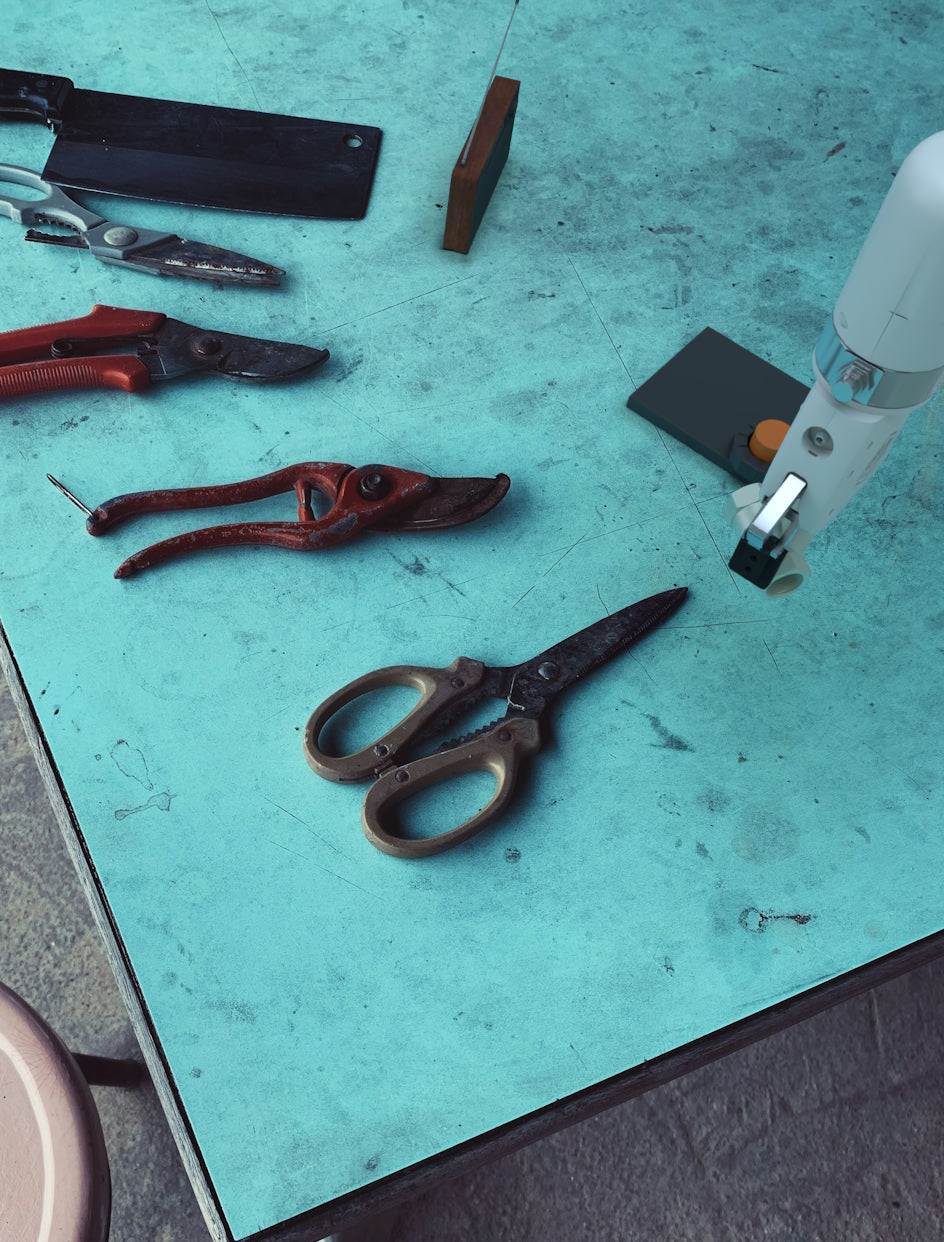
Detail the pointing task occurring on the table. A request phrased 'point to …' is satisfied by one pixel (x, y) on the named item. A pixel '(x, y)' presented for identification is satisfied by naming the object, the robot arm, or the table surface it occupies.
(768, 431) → the button
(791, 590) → the pipe fitting
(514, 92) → the radio
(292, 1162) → the table surface
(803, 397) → the scale
